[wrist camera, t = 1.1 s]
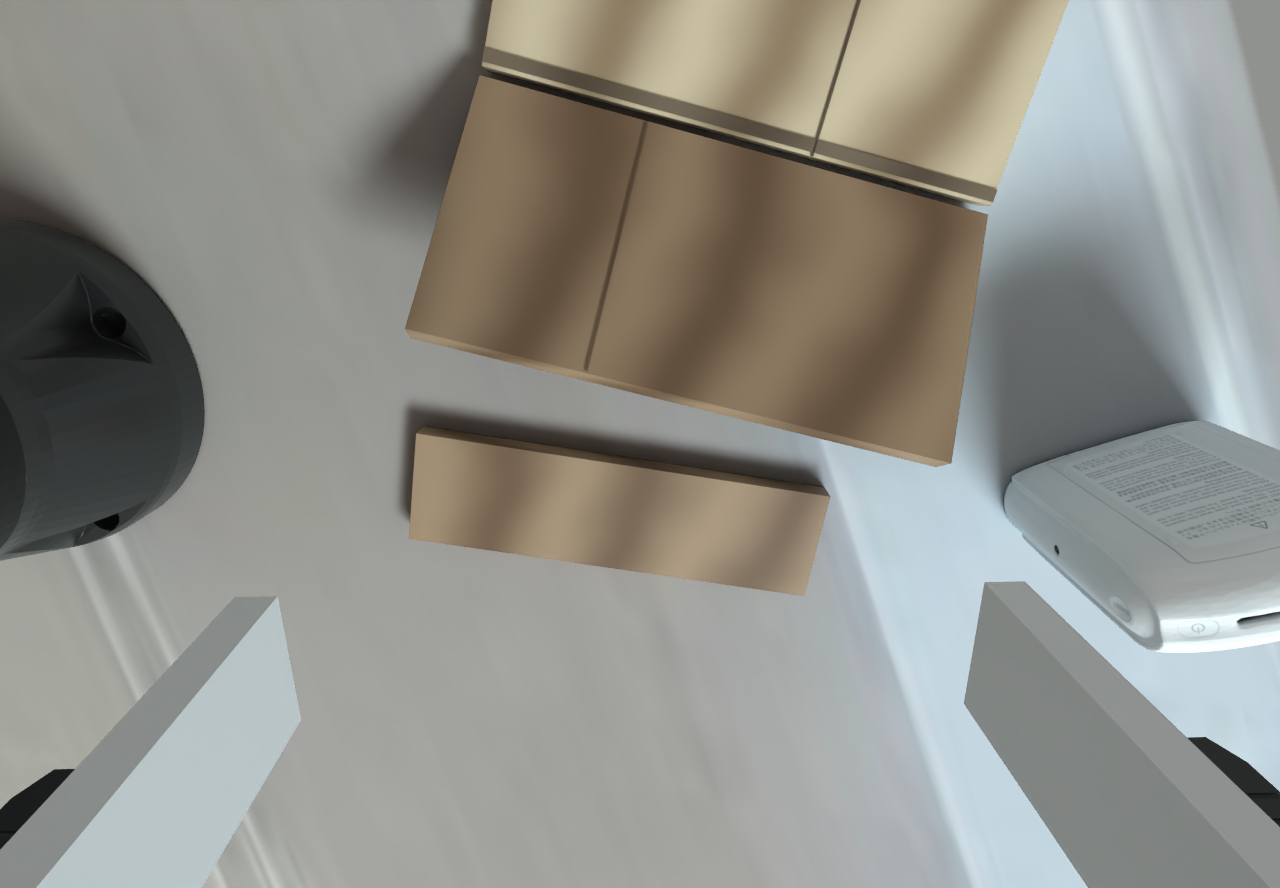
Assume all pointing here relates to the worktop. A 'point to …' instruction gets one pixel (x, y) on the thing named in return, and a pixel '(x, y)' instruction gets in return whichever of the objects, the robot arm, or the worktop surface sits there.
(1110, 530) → the photo printer
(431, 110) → the worktop surface
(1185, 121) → the worktop surface
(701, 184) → the plank
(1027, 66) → the light wood flat board
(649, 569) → the plank
